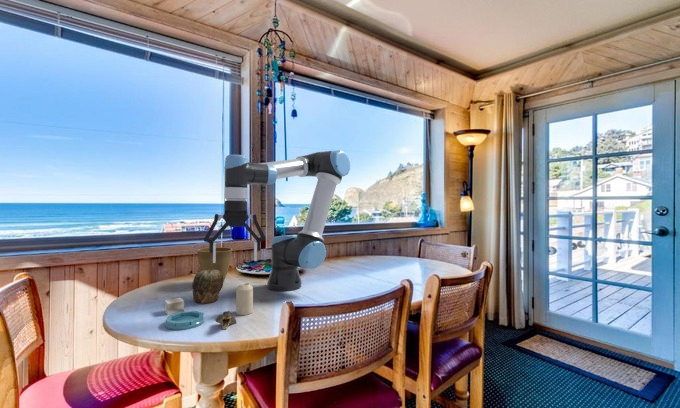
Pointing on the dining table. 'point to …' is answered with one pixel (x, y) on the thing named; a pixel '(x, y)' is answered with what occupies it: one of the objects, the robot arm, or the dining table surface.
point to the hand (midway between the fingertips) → (235, 261)
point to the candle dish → (184, 320)
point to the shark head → (226, 319)
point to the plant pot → (221, 259)
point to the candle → (244, 299)
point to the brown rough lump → (207, 286)
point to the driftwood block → (174, 306)
